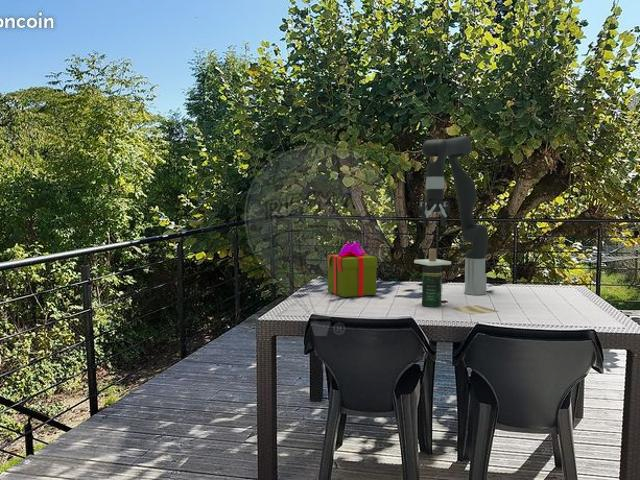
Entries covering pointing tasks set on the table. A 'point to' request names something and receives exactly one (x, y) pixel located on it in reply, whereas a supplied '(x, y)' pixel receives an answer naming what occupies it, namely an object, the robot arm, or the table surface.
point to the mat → (474, 309)
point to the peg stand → (432, 260)
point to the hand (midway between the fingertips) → (434, 226)
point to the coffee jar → (431, 286)
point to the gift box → (352, 272)
